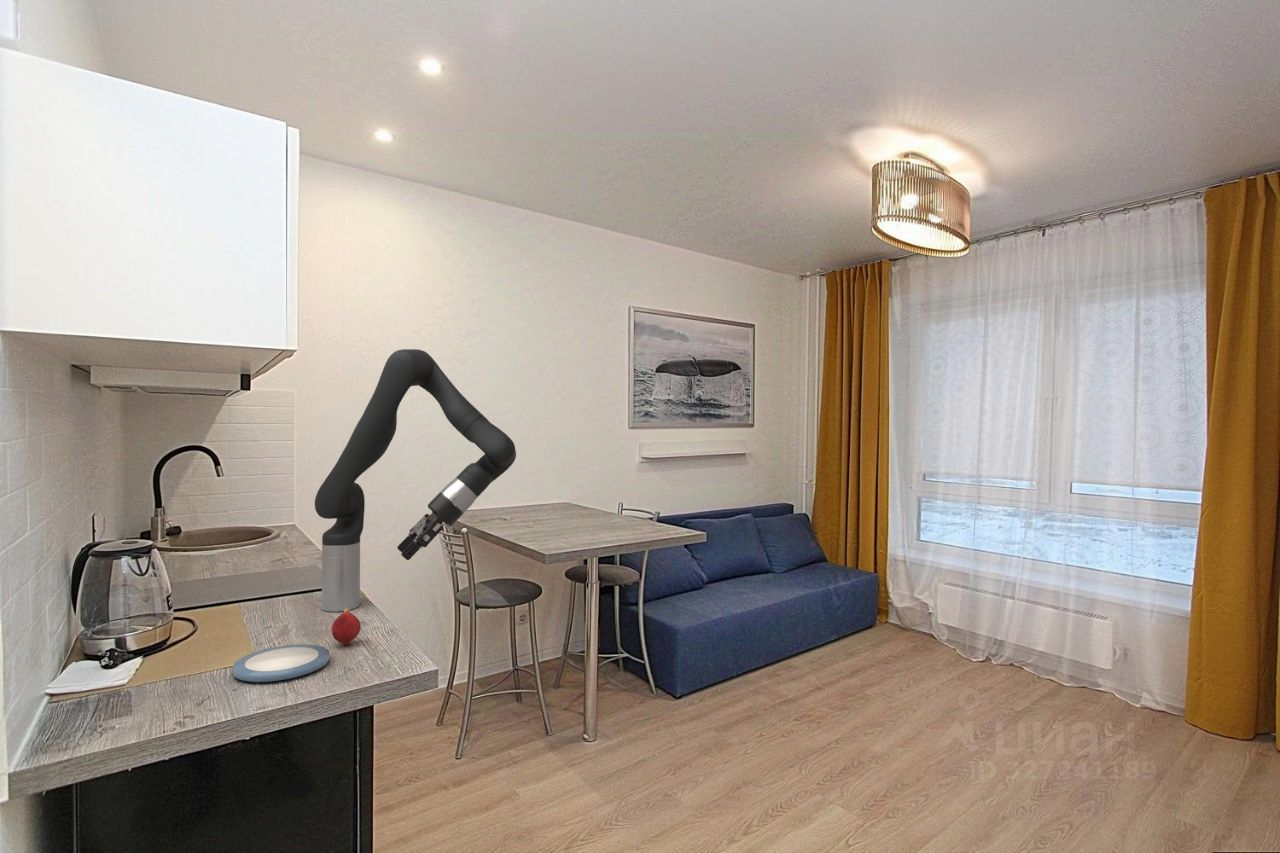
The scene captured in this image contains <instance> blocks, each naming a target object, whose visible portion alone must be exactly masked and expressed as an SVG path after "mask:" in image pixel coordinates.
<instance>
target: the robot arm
mask: <svg viewBox="0 0 1280 853" xmlns="http://www.w3.org/2000/svg"><path fill="white" fill-rule="evenodd" d="M416 386H419V387H420V388H422V389H423V390H425V391H426V392H428V393H429V394H430V395H431V396H432V397H433V398H434V399H435V401H437V403H438V405H439V406H440V408H441V410H442V412H443V414H444V416H445V417H446V419H447V420H448V422H449V423H450V424H451V425H452V427H453V428H455V429H456V431H457V432H459V433H460V434H461V435H462V436H463V438H464V439H466V440H467V441H469V442H470V443H471V444H474V445H475V446H477V448H478V449H480V450H481V452H483V455H482V456H481V457H480V458H479V459H477V461H476V462H472V463H469V464H468V465H467V466H466V467H465V468H464V469H463V470H462V471H461V472H460V473H459V474H458V475H457V476H456V477H455V478H453V480H452V481H450V482H449V483H447V485H445V486H444V488H442V489H441V491H440V492H439V493H438V494H436V496H435V497H433V499H432V500H430V502H429V503H428V504H427V508H428V509H429V510H430V511H431V513H430V514H428V513H425V514H424V516H423V517H421V519H420V520H419V521H418V522H417V523H416V524H415V525H413V527H411V528H410V529H409V532H408V534H407V536H406V537H405V538H404V539H403V540H402V541H401V542H400V543H399V544H398V545H397V547H396V548H397V550H398V551H399V552H400V553H401V554H400V555H401V556H402V557H403V558H404V559H405V560H406V561H409V560H411V559H412V557H414V555H416V553H417V552H418V551H419V550H421V549H423V548H426V547H428V545H429V544H430V543H431V542H433V540H434V539H435V538H436V537H437V536H438V534H440V533H441V531H443V529H444V526H442V525H443V523H445V524H446V525H447V526H448V527H452V526H454V524H455V523H456V522H457V521H458V520H459V519H460V518H461V517H462V516H463V515H464V514H465V512H467V511H468V509H470V508H471V506H472V505H473V504H474V503H475V501H476V499H478V497H479V496H481V495H482V493H483V492H484V491H485V490H486V489H487V488H488V487H489V486H490V484H492V482H494V481H495V480H497V479H498V478H499V477H500V476H502V475H503V474H504V473H505V472H506V471H508V470H509V469H510V467H512V465H513V464H514V462H515V461H516V458H517V450H516V446H515V443H514V441H513V440H512V439H511V438H510V437H509V435H508V434H506V433H505V432H504V431H503V430H502V429H500V428H499V427H497V425H494V424H493V423H491V421H489V419H488V418H487V417H486V416H484V414H483V413H481V411H479V410H478V408H476V406H474V405H473V404H472V403H471V402H470V401H469V400H468V399H467V398H466V397H465V396H464V394H462V393H461V392H460V391H459V390H458V388H456V386H455V385H454V383H452V381H451V380H450V378H448V376H447V375H446V374H445V373H444V372H443V370H442V369H441V367H440V366H439V365H438V364H437V362H436V361H435V359H434V358H433V357H432V355H430V354H429V353H428V352H426V351H424V350H422V349H418V348H417V349H416V348H413V349H409V348H408V349H407V348H403V349H398V350H396V351H394V352H392V354H390V355H389V356H388V358H387V359H386V362H385V363H384V367H383V369H382V372H381V373H380V377H379V379H378V382H377V385H376V387H375V390H374V391H373V394H372V395H371V398H370V399H369V402H368V404H367V406H366V407H365V409H364V411H363V413H362V415H361V417H360V419H359V420H358V422H357V424H356V425H355V428H354V429H353V431H352V433H351V435H350V438H349V439H348V442H347V443H346V446H345V447H344V449H343V450H342V452H341V454H340V456H339V458H338V460H337V461H336V462H335V464H334V466H333V468H332V469H331V471H330V472H329V474H328V475H327V477H326V478H325V479H324V481H323V482H322V483H321V485H320V487H319V489H318V490H317V493H316V495H315V498H314V509H315V512H316V514H317V515H318V517H320V518H322V519H326V520H327V519H329V520H330V519H331V520H332V519H336V520H335V522H334V524H333V525H332V526H331V527H330V528H328V529H327V530H326V531H325V532H323V534H322V537H321V541H322V542H321V556H322V557H321V568H322V569H321V610H322V611H325V612H344V611H345V609H349V610H350V611H351V610H354V609H357V608H358V607H360V605H361V536H362V533H363V531H364V524H365V522H364V521H365V520H364V519H365V509H366V507H365V504H366V502H365V493H364V490H363V488H362V487H361V485H360V484H359V483H357V482H356V481H357V479H358V478H359V477H360V476H362V474H363V473H365V472H366V471H367V470H369V469H370V468H371V467H372V466H373V465H374V464H376V462H378V461H379V460H380V459H381V458H382V457H383V456H384V454H385V453H386V452H387V450H388V448H389V446H390V444H391V443H392V440H393V438H394V436H395V434H396V431H397V424H398V409H399V407H400V403H401V402H402V400H403V398H404V397H405V395H406V394H407V392H408V391H409V389H410V388H411V387H416Z"/></svg>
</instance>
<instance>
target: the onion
mask: <svg viewBox="0 0 1280 853" xmlns="http://www.w3.org/2000/svg"><path fill="white" fill-rule="evenodd" d="M360 631H361V622H360V620H359V619H358V617H357V616H356V615H355V614H353V613H351V610H349V609H345V611H342V613H341V614H340V615H339V616H337V617H336V619H335V620H334V621H333V623H332V626H331V635H332V638H333V639H334V640H335V641H336V642H338V643H339V644H342V645H344V646H348V645H349V644H351V642H353V641H354V640H355V639H356V638H357V636H359V633H360Z"/></svg>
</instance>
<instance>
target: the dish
mask: <svg viewBox="0 0 1280 853" xmlns="http://www.w3.org/2000/svg"><path fill="white" fill-rule="evenodd" d="M328 662H330V650H329V649H328V648H327V647H324V646H322V645H317V644H309V643H308V644H307V643H305V644H304V643H303V644H300V643H297V644H288V645H286V644H285V645H280V646H279V645H278V646H274V647H270V648H269V647H268V648H265V649H260V650H257V651H254V652H251V653H249V654H246V655H244V656H243V657H241V658H239V659H238V660H236V661H235V662H234V663H233V665H232V675H233V677H234V678H236V679H238V680H241V681H246V682H253V683H262V682H263V683H264V682H265V683H266V682H275V681H282V680H289V679H294V678H298V677H301V676H305V675H308V674H310V673H313V672H316V671H318V670H320V669H321V668H323V667H324V666H326V665H327V664H328Z"/></svg>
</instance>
